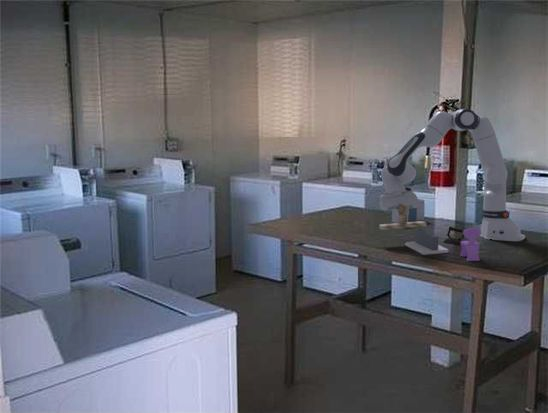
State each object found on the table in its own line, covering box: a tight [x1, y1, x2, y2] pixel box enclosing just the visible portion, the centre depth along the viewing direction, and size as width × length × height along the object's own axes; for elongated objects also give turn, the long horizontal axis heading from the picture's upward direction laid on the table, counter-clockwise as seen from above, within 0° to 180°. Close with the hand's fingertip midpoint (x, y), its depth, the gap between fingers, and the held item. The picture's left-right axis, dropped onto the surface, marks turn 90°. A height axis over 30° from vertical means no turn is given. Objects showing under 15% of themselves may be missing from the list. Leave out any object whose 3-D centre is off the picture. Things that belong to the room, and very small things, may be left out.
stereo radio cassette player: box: [391, 198, 426, 224], centre depth 364 cm, size 21×8×20 cm, turn 123°
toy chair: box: [460, 226, 481, 262], centre depth 280 cm, size 8×9×15 cm
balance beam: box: [378, 204, 428, 231], centre depth 311 cm, size 24×4×12 cm, turn 102°
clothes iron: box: [443, 226, 465, 246], centre depth 310 cm, size 7×11×10 cm, turn 43°
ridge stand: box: [404, 228, 449, 256], centre depth 299 cm, size 20×13×8 cm, turn 12°
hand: (403, 214), depth 310 cm, fingers closed on balance beam, 3 cm apart
